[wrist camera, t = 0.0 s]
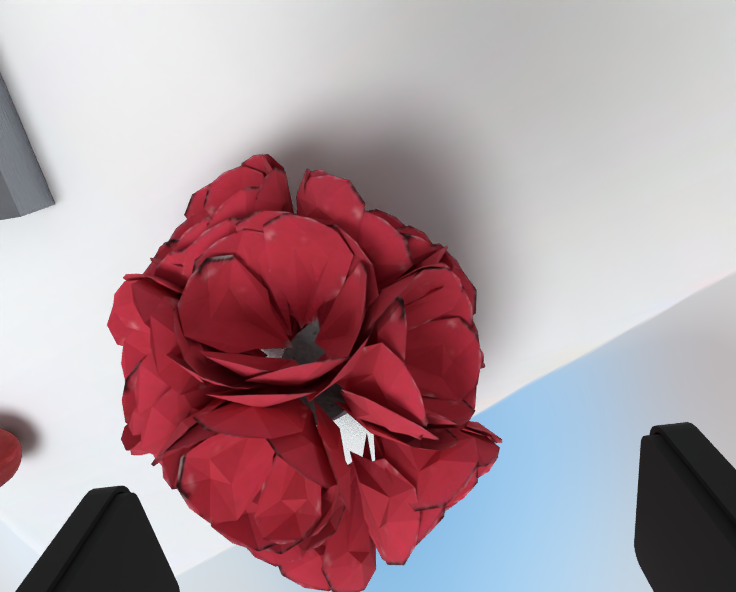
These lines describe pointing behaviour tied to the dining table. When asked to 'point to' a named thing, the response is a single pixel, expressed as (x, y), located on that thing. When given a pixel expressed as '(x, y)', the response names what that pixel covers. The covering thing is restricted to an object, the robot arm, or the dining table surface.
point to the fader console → (18, 166)
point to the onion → (9, 456)
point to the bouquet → (304, 373)
